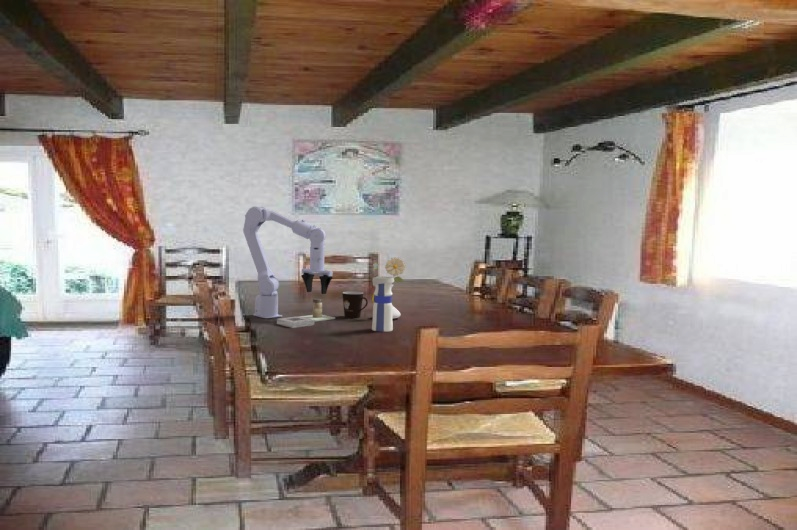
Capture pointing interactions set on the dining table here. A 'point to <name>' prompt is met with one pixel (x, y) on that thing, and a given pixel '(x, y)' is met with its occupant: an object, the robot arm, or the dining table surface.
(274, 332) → the dining table surface
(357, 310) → the coffee mug
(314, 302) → the tan two-tone cylinder
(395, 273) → the flower in vase
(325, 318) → the mat
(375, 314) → the water bottle
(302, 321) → the square metal frame
